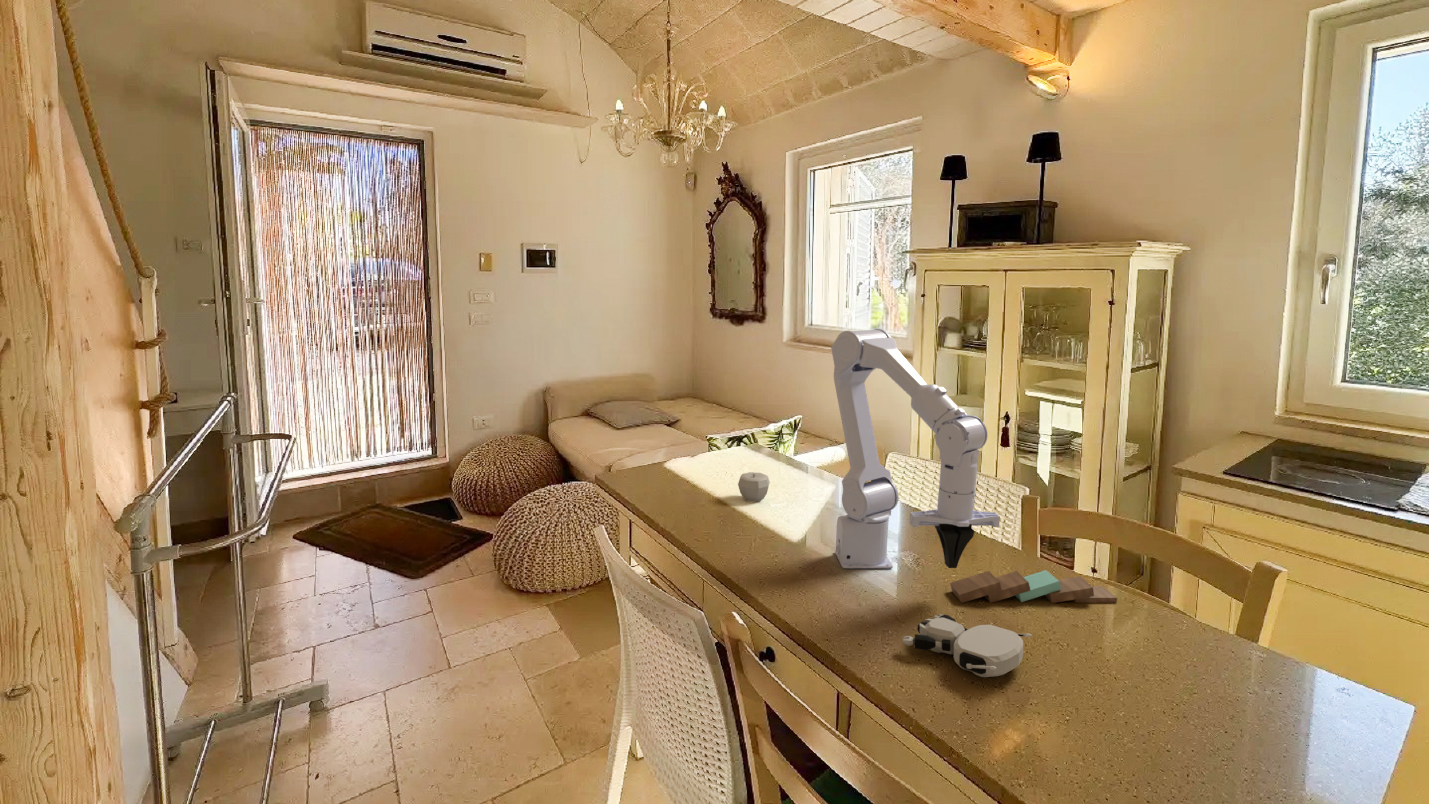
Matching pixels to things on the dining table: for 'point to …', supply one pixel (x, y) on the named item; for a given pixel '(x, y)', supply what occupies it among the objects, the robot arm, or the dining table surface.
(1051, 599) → the walnut domino
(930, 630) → the robot toy
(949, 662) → the dining table surface
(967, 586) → the walnut domino
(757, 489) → the apple
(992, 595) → the walnut domino
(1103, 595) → the walnut domino
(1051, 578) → the teal domino
